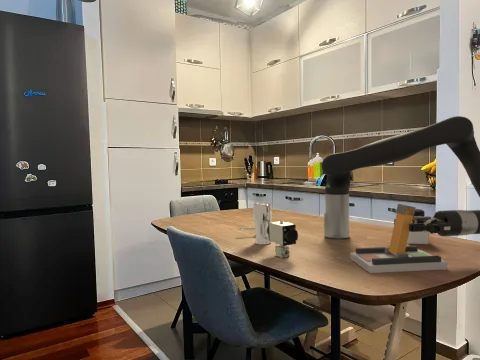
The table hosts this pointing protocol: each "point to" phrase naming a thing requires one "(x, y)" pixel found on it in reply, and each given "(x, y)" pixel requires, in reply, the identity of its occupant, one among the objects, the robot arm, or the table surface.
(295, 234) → the pneumatic valve
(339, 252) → the table surface
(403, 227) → the lever
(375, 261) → the dark grey mounting rails
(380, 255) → the breaker panel
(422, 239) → the medicine bottle
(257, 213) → the beer glass
